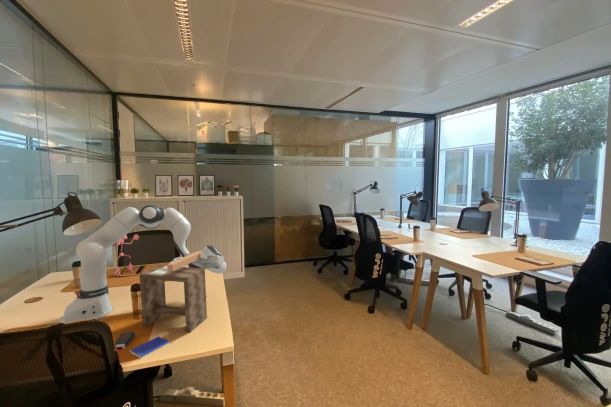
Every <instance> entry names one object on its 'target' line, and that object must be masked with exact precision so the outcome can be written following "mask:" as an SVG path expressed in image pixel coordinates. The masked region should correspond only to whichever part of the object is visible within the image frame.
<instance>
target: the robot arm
mask: <svg viewBox="0 0 611 407" xmlns="http://www.w3.org/2000/svg"><path fill="white" fill-rule="evenodd" d="M137 225H139V226H140V227H144V228H145V229H150V230H153V229H156V228H158V227H159V226H160V225H164V226H165V227H166V228H167V230H169V231H170V232H171V233H172V236H173V237H172V238H173V239H172V242H173V245H174V246H175V248H176V249H177V251H178V252H179V255H180V256H181V257H186V256H188V255H190V254H193V253H194V252H193V253H190V251H189V250H188V248H187V247H186V241H187V240H188V237H189V235H190V233H191V230H192V225H191V223H190V221H189V220H188V219H187V218H186V217H185V216H184V215H183V214H182V213H180V212H179V211H178V210H177V209H175V208H173V207H167V208H165V209H163V208H161V207H159V206H155V205H152V204H149V205H148V204H147V205H145V206H143V207H142V208H141V209H140V210H138V209H137V208H135V207H132V206H128V207H126V208H123V209H122V210H121V211H119V212H118V213H117V214H116V215H114V216H113V217H111V219H110V220H108V221H107V222H106V223H105V224H104V225H103V226H101V227H100V228H99V229H98V230H96V231H95V232H93V233H92V234H91V235H89V236H88V237H86V238H85V239H84V240H82V241H80V242H79V243H78V244H77V245H76V248H75V253H76V255H77V256H78V258H79V259H80V274H79V277H80V278H79V280H80V289H75V290H74V291H73V293H74V294H75V295H76V298H75V299H73V300H72V302H70V303H69V304H68V305H67V306H65V308H64V314H63V315H62V316H60V318H59V319H58V324H59V323H69V322H75V321H81V320H90V319H96V320H99V319H103V318H105V317H106V316H107V314H110V313H111V312H112V311H113V307H112V305H111V302H110V299H109V285H108V284H107V261H108V260H107V257H108V250H107V249H109V248H110V247H111V246H113V245H114V244H117V242H118V241H119V240H120V239H122V238H123V237H124V236H125V235H126V236H127V234H128V233H129V232H130V231H131V230H132V229H133V228H134V227H136V226H137ZM200 251H202V252H203V254H199V256H198V257H199V258H200V259H198V260H196V261H194V262H191V263H189V264H187V265H186V266H188V268H202V269H205V270H206V271H210V272H212V273H215V274H217V275H218V274H223V273H224V272H225V271H226V269H227V268H228V267H227V266H228V265H227V263H226V261H225V257H224V256H223V255H221V252H220V251H219V249H217V248H216V247H215V246H213V245H206V246H204V247H203V248H202V249H201V250H200Z"/></svg>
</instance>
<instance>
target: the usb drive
mask: <svg viewBox="0 0 611 407" xmlns="http://www.w3.org/2000/svg"><path fill="white" fill-rule="evenodd" d="M135 335H136V332H135V331H133V330H132V331H123V332H122V333H121V334H120V335H119V336H118V338H117V339H116V340H115V342H114V347H115V346H116V349H117V351H123V350H122V349H124V350H125V348H127V347H128V346H129V345H130V344H131V343H132V341H133V339H134V337H135ZM132 338H133V339H132ZM129 343H130V344H129ZM126 346H127V347H126ZM117 351H116V352H117Z"/></svg>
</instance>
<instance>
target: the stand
mask: <svg viewBox="0 0 611 407" xmlns="http://www.w3.org/2000/svg"><path fill="white" fill-rule="evenodd" d="M205 271H206V269H202V268H189V267H186V266H185V267H181V268H179V269H177V270H175V271H167V265H159V266H156V267H154V268H152V269H149V270H146V271H144V272H141V273H140V274H139V287H140V289H139V290H140V303H141V316H142V327H144V328H147V327H149V326H150V325H152V324H153V323H155V322H157V321H158V320H159V319H160V318H162V317H163V316H165V315H176V316H181V317H183V316H184V317H185V329H186V330H185V331H186V333H191V332H193V331H194V330H195V329H196V328H197V327H199V324H200V325H201V324H202V323H203V322H204V321H206V320H207V319H208V314H207V313H208V311H207V290H206V272H205ZM165 281H167V282H175V283H176V282H178V283H183V291H184V293H183V294H184V295H183V296H184V307H180V306H179V307H178V306H171V305H167V302H166V301H167V300H166V284H165ZM205 319H206V320H205ZM192 330H193V331H192Z"/></svg>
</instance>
